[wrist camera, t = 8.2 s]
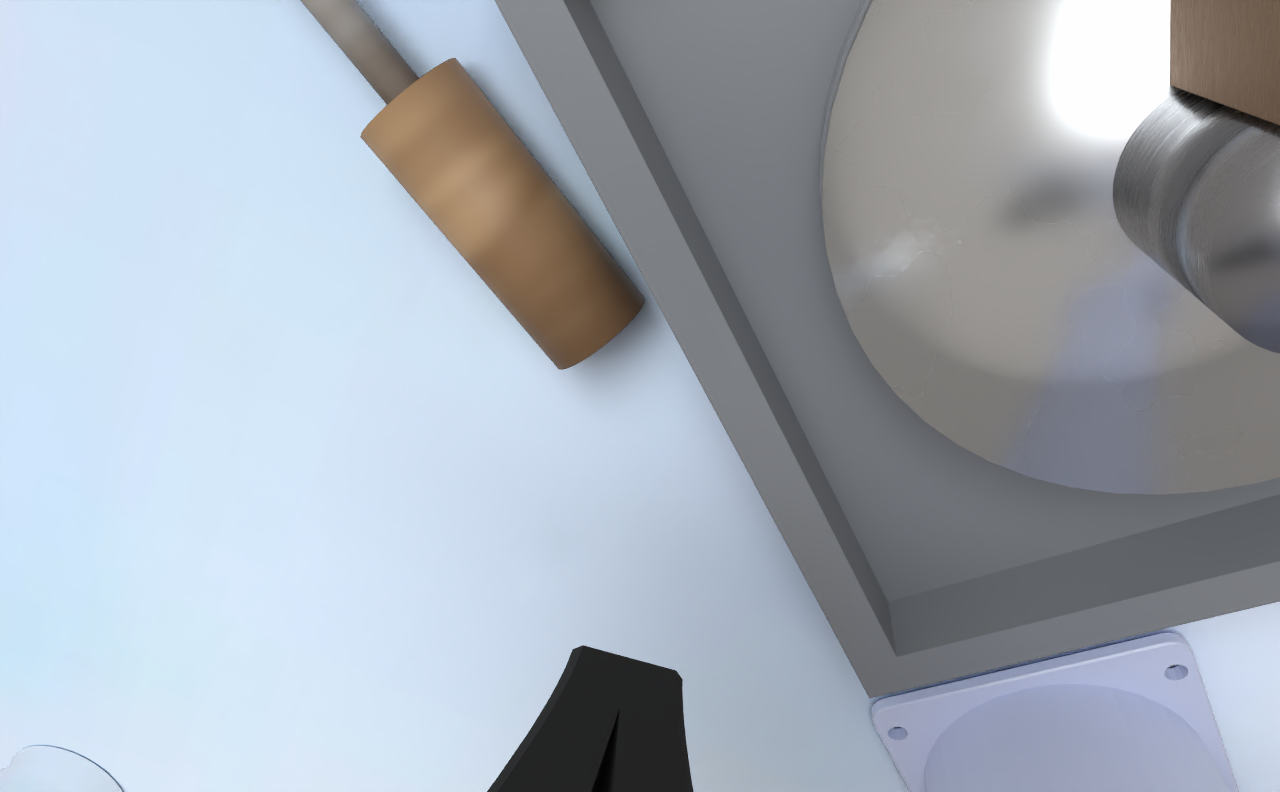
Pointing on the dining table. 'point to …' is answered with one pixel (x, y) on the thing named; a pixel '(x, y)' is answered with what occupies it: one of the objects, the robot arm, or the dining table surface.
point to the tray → (851, 362)
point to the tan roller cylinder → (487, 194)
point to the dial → (1067, 231)
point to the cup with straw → (54, 772)
